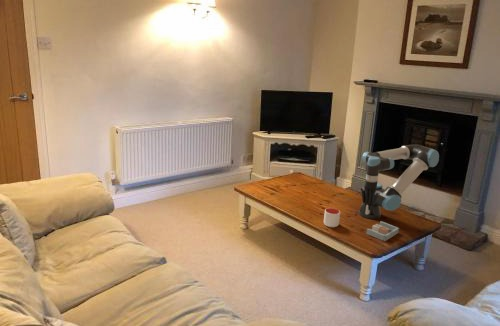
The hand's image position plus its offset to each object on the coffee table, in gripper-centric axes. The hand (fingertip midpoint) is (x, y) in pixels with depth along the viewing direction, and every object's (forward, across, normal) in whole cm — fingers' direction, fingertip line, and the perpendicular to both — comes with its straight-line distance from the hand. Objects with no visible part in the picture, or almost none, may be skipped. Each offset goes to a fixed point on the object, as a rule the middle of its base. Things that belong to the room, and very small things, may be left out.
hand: (367, 213), depth 273 cm
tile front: (+9, +13, -1) cm, 16 cm away
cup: (+9, -16, -17) cm, 25 cm away
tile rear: (+9, +9, -1) cm, 13 cm away
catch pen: (+9, +13, -1) cm, 16 cm away
